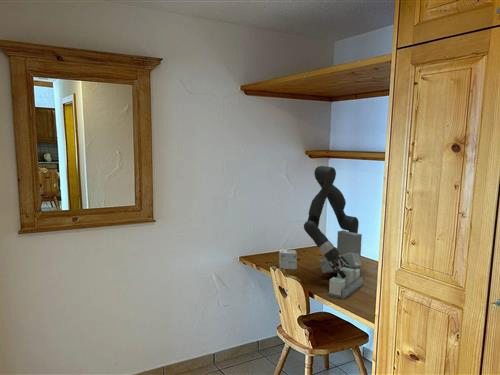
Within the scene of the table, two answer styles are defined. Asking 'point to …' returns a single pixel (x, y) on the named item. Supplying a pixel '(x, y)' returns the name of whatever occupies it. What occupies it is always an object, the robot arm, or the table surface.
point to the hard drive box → (350, 258)
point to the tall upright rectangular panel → (349, 243)
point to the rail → (349, 289)
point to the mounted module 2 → (356, 274)
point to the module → (347, 275)
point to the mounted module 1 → (336, 286)
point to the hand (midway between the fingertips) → (347, 275)
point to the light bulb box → (288, 259)
